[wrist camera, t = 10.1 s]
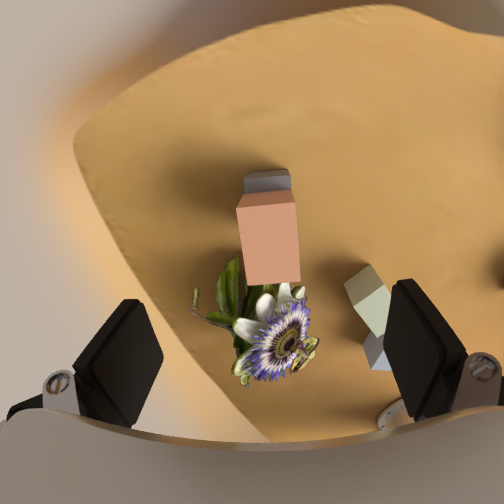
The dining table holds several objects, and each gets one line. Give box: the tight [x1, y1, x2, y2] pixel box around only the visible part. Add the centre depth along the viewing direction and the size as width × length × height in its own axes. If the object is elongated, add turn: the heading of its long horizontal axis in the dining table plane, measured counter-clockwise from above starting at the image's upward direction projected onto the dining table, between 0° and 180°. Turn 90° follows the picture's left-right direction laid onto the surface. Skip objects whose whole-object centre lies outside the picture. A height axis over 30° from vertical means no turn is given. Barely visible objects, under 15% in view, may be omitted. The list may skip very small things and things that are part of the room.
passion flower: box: [190, 254, 319, 389], centre depth 29 cm, size 13×12×14 cm
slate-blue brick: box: [363, 330, 392, 371], centre depth 31 cm, size 6×4×5 cm, turn 167°
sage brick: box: [344, 264, 391, 338], centre depth 29 cm, size 6×4×5 cm, turn 42°
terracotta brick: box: [236, 189, 301, 286], centre depth 22 cm, size 6×4×5 cm, turn 7°
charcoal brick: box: [243, 169, 292, 194], centre depth 26 cm, size 6×4×5 cm, turn 7°
